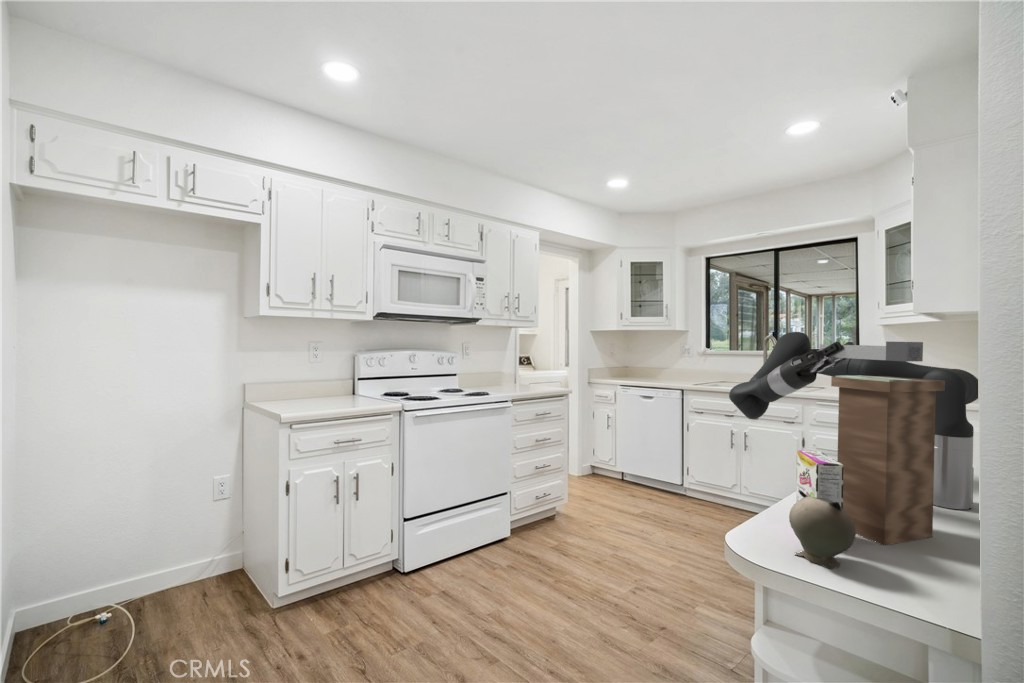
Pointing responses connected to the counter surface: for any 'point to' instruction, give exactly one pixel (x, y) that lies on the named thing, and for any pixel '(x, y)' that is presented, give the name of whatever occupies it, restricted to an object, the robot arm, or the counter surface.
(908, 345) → the brushed steel block
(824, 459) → the candy bar box
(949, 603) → the counter surface
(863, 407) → the stand
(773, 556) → the counter surface
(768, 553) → the counter surface
